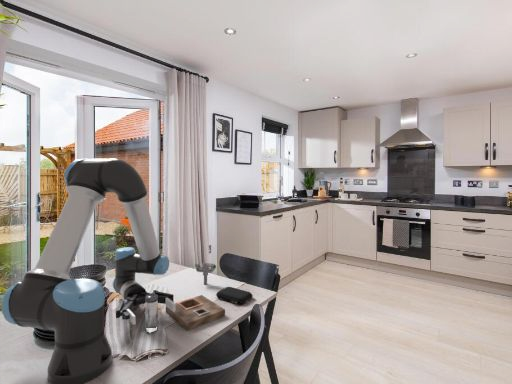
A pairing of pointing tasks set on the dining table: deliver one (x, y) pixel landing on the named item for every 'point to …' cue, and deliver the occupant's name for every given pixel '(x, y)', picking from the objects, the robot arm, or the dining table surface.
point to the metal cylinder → (151, 311)
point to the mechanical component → (205, 269)
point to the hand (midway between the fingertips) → (155, 313)
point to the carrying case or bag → (234, 295)
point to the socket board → (195, 312)
